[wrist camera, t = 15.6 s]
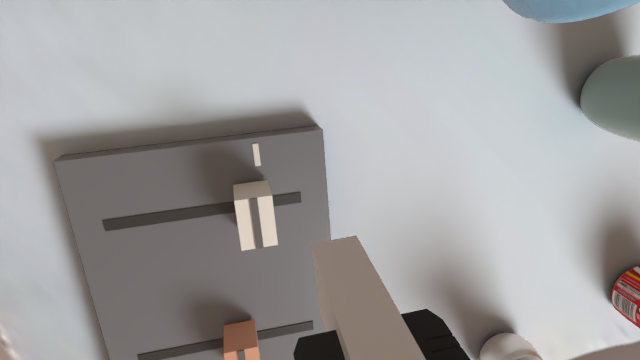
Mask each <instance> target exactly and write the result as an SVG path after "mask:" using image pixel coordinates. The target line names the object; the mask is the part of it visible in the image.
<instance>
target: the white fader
mask: <svg viewBox="0 0 640 360" xmlns="http://www.w3.org/2000/svg"><path fill="white" fill-rule="evenodd" d="M233 192H234V204H235V210H236V217H237V224H238V230H239V237H240V244H241V250H242V251H244V250H250V249H261V248H264V247H268V246H274V245H278V240H277V232H276V224H275V215H274V207H273V198H272V193H271V190H270V187H269V183H268V180H264V181H257V182H249V183H242V184H235V185H233Z"/></svg>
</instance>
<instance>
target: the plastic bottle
mask: <svg viewBox="0 0 640 360" xmlns="http://www.w3.org/2000/svg"><path fill="white" fill-rule="evenodd" d="M480 360H542V358H541V356H540V355H539V354H538V352H537V351H536V349H535V348H534V347H533V346H532V344H531V343H529V342H528V341H526V340H525V339H524V338H522V337H521V336H519V335H517V334H512V333H500V334H497V335H494V336H493V337H491V338H490V339H488V340H487V341H486V342H485V344H484V345H483V346H482V348H481V351H480Z"/></svg>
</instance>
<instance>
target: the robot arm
mask: <svg viewBox="0 0 640 360" xmlns="http://www.w3.org/2000/svg"><path fill="white" fill-rule="evenodd" d="M502 1H503V2H504V3H505V4H506V5H507V6H508V7H509V8H510V9H511V10H513V11H514V12H515V13H517V14H519V15H520V16H522V17H525V18H531V19H534V20H536V21H541V22H545V23H568V22H576V21H581V20H586V19H591V18H595V17H599V16H602V15H605V14H609V13H612V12H615V11H618V10H620V9H623V8H626V7H628V6H631V5H633V4H636V3H638V2H640V0H502ZM311 245H312V253H313V260H314V268H315V275H316V282H317V290H318V297H319V305H320V312H321V316H322V320H323V323H324V327H325V330H326V332H323V333H318V334H314V335H309V336H304V337H300V338H298V341H297V344H296V347H295V350H294V353H293V355H294V360H470V359H469V357H468V356H467V354H466V353H465V351H464V350H463V349H462V348H461V347H460V344H459V343H458V341H457V340H456V338H455V337H454V336H452V333H451V331H450V330H449V328H448V327H447V325H446V324H445V323H444V321H443V320H442V319H441V318H440V317H438V316H437V315H435V314H434V313H432V312H431V311H429V310H428V309H424V310H419V311H414V312H410V313H405V314H400V312H399V311H398V309H397V307H396V305H395V304H394V302H393V300H392V298H391V296H390V295H389V293H388V291H387V289H386V288H385V286H384V284H383V282H382V280H381V279H380V277H379V275H378V273H377V272H376V270H375V268H374V266H373V264H372V263H371V261H370V259H369V257H368V256H367V254H366V252H365V250H364V248H363V247H362V245H361V243H360V241H359V240H358V238H357V236H351V237H346V238H341V239H335V240H330V241H325V242H320V243H314V244H311Z"/></svg>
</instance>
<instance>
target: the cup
mask: <svg viewBox="0 0 640 360" xmlns="http://www.w3.org/2000/svg"><path fill="white" fill-rule="evenodd" d="M580 104H581V108H582V111H583V113H584V114H585V116H586V117H587V118H588V119H589V120H590V121H591V122H592V123H593V124H595V125H596V126H598V127H599V128H601V129H603V130H606V131H608V132H610V133H612V134H615V135H618V136H621V137H624V138H627V139H630V140H634V141H638V142H640V55H631V56H623V57H619V58H615V59H612V60H609V61H607V62H605V63H603V64H601V65H600V66H599V67H597V68H596V69H595V70H594V71H593V72H592V73H591V75H590V76H589V77H588V79H587V80H586V82H585V84H584V86H583V89H582V91H581V96H580Z"/></svg>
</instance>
